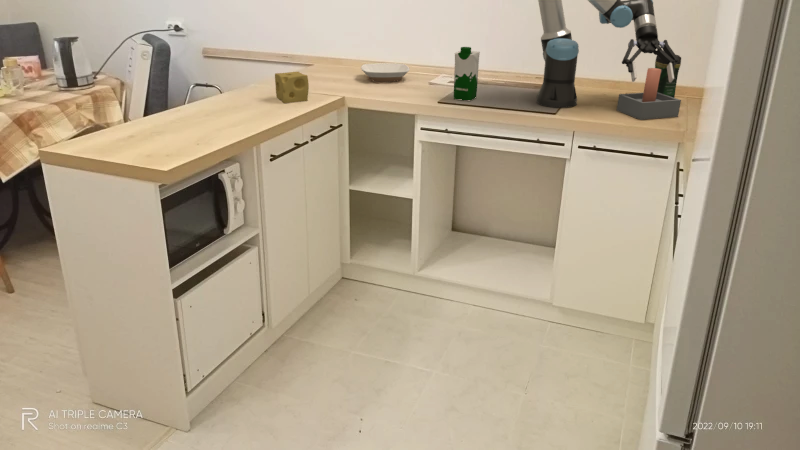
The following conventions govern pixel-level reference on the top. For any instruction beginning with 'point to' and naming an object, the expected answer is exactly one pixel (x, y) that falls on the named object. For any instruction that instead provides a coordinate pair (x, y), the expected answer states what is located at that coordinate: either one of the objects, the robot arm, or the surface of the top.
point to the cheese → (291, 87)
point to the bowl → (385, 71)
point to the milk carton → (466, 74)
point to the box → (648, 106)
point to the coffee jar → (664, 84)
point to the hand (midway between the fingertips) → (653, 80)
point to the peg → (651, 84)
